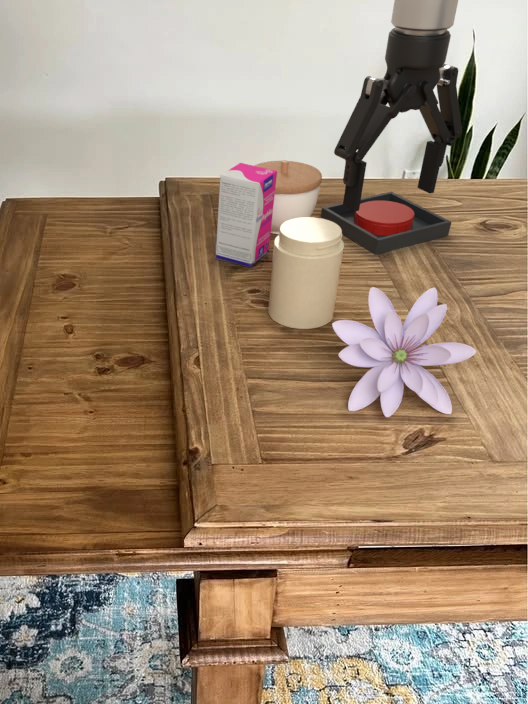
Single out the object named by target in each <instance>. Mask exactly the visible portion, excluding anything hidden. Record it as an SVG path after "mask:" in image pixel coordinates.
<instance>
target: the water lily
mask: <svg viewBox="0 0 528 704" xmlns="http://www.w3.org/2000/svg"><path fill="white" fill-rule="evenodd" d="M438 297H439V295H438V290H437V288H436V287H431V288H429V289H427V290H426V291H424V292H423V293H422V294H421V295H420V296H419V297H418V298H417V300H416V301H414V304H413V305H412V306H411V308H410V310H409V312H408V314H407V315H406V318H405V320H404V321H403V322H402V319H401V316H400V315H398V313H397V312H396V310H395V307H394V305H393V303H392V301H391V300H390V298H389V297H388V296H387V295H386V294H385V292H383V291H382V290H381V289H379V288H378V287H376V286H375V287H374V286H371V287H370V289H369V292H368V299H367V300H368V303H367V304H368V311H369V315H370V317H371V320H372V323H373V325H374V328H375V329H374V328H373V327H370V326H369V325H366V324H364V323H361V322H360V321H356V320H350V319H341V320H335V321H334V322H332V323H331V325H332V329H333V331H334V333H335V334H336V335H337V336H338V338H339V339H340V340H341V341H342V342H344V343H345V344H346V345H348V346H346V347H344V348H342V349H341V351H340V352H339V353H338V357H339V359H341V360H342V362H344V363H346V364H348V365H351V366H353V367H357V368H370V369H369V370H368V371H367V372H365V373H364V374H363V376H362V377H361V378H360V379H359V381H358V382H357V383H356V384H355V386H354V387H353V389H352V390H351V392H350V396H349V399H348V402H347V410H348V411H349V412H356V411H361V410H362V409H364V408H366V407H368V406H369V405H371V404H372V403H373V402H374V401H376V400H377V399H378V398H379V397H380V407H381V411H382V413H383V416H384V417H385V418H389V417H391V416H393V415H394V414H395V413H396V412H397V410H398V408H399V406H400V405H401V402H402V400H403V395H404V390H405V386H407V388H409V390H411V391H413V392H415V394H416V395H417V396H418V397H419V398H420V399H421V400H423V401H424V402H426V404H428V405H429V406H430V407H432V408H433V409H434V410H436V411H438V412H440V413H442V414H445V415H451V414H452V412H453V406H452V401H451V398H450V396H449V393H448V391H447V390H446V389H445V387H444V386H443V384H441V382H440V381H439V380H438V379H437V378H436V376H434V375H433V373H431V372H430V371H428V370H427V369H426V368H425V367H426V366H427V367H428V366H429V367H430V366H443V365H444V366H445V365H452V364H457V363H460V362H464V361H466V360H469V358H472V357H473V356H475V354H477V350H476V349H475V348H474V347H473V346H471V345H468V344H465V343H462V342H455V341H447V342H437V343H431V344H428V345H427V344H423V343H425V342H426V341H427V340H428V339H429V338H430V337H431V336H432V335H433V334H434V333H435V332H436V331H437V329H438V328H439V327H440V326H441V324H442V323H443V321H444V319H445V316H446V314H447V309H448V305H447V304H446V303H445V304H444V303H442V304H439V305H438ZM421 344H423V345H421ZM420 345H421V346H420ZM423 366H424V367H423Z"/></svg>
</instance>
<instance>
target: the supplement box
mask: <svg viewBox="0 0 528 704" xmlns="http://www.w3.org/2000/svg"><path fill="white" fill-rule="evenodd" d="M276 177H277V171H276V170H272V169H267V168H262V167H257V166H254V165H252V164H248V163H244V162H239V163H237V164H236V165H235V166H233V167H231V168H230V169H228V170H227V171H225V172H223V173H222V174H220V175H219V189H218V190H219V191H218V208H217V227H216V243H215V244H216V245H215V256H214V257H215V259H216V260H218V261H219V260H220V261H223V262H228V263H232V264H235V265H239V266H243V267H247V268H251V267H253V266H254V265H255V264H256V263H257V262H259V260H261V259H262V257H264V256H265V255H267V254H268V253H269V252H270V242H271V234H272V233H271V224H272V215H273V205H274V196H275V187H276Z"/></svg>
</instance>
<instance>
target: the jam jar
mask: <svg viewBox="0 0 528 704" xmlns="http://www.w3.org/2000/svg"><path fill="white" fill-rule="evenodd" d="M343 236H344V235H342V230H341V228H340V226H338V225H337V224H336V223H334V222H332V221H329V220H326V219H322V218H321V217H313V216H310V217H300V218H294V219H290V220H287V221H285V222H284V223H283V224H282V225H281V226H280V231H279V234H277V235H276V236H275V238H274V240H273V250H272V261H271V272H270V283H269V284H270V285H269V294H268V295H269V297H268V306H267V312H268V316H269V317H270V318H271V320H273V322H275V323H277V324H279V325H281V326H284V327H287V328H292V329H296V330H297V329H298V330H312V329H317V328H321V327H324V326H325V325H328V324H329V323H330V322H331V321H332V320H333V319H334V314H335V308H336V303H337V302H336V301H337V295H338V289H339V284H340V283H339V282H340V276H341V270H342V262H343V256H344V249H345V243H344V240H343Z"/></svg>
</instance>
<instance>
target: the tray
mask: <svg viewBox="0 0 528 704" xmlns="http://www.w3.org/2000/svg"><path fill="white" fill-rule="evenodd" d="M369 201H392V202H397V203H400V204H403V205H406V206H408V207H410V208H411V209H412V210H413V211H414V219H413V224H412V228H411V229H410V230H409V231H405V232H401V233H397V234H393V235H389V236H381V235H374V234H371V233H369V232H368V231H366V230H364V229H362V228H361V227H359V226H357V225H356V224H354V222H353V220H354V214H355V211H353V210H351V209H349V208H347V207H346V206H344V205H343V202H340V203H336V204H331V205H327V206H323V207H321V211H320V218H322V219H326V220H329V221H332V222H334V223H336V224H337V225H338V226H340V228H341V230H342V235H343V236H344V237H345V238H348V239H349V240H351V241H352V242H353V243H356V244H357V245H359V246H361V247H362V248H364V249H365V250H367V251H369V252H370V253H372V254H374V255H380V254H384V253H388V252H392V251H395V250H400V249H404V248H406V247H409V246H410V247H411V246H414V245H418V244H422V243H425V242H430V241H434V240H437V239H441V238H444V237H448V236H449V234H450V233H449V232H450V229H451V226H452V221H451V220H449V219H447V218H444V216H441V215H439V214H437V213H435V212H433V211H431V210H429V209H427V208H425V207H423V206H421V205H419V204H417V203H415V202H413V201H411V200H409V199H408V198H405V197H403V196H401V195H399V194H397V193H396V192H394V191H388V192H384V193H383V192H382V193H380V194H375V195H371V196H366V197H361V201H360V204H362V203H364V202H369Z"/></svg>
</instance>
